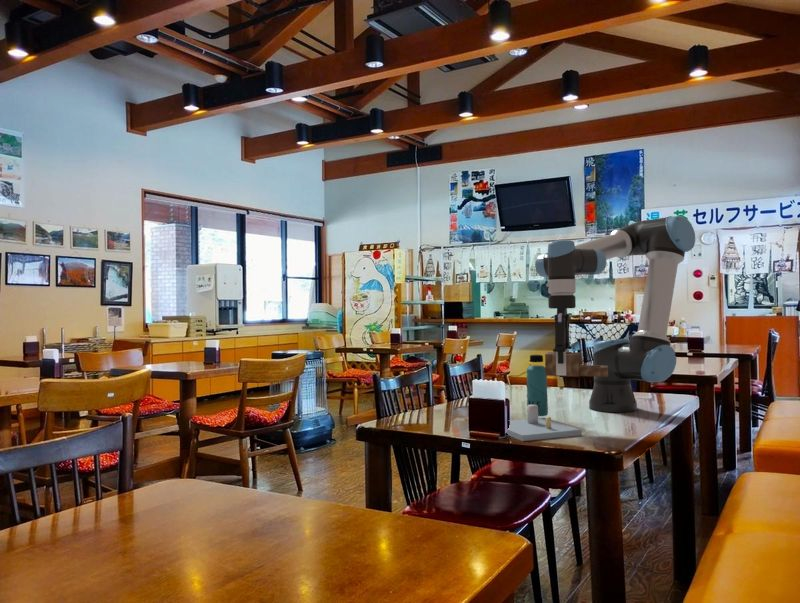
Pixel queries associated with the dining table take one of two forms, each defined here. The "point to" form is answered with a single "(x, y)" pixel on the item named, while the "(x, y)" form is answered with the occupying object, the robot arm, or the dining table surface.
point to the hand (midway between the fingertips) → (563, 373)
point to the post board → (539, 427)
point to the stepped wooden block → (573, 366)
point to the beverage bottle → (537, 386)
